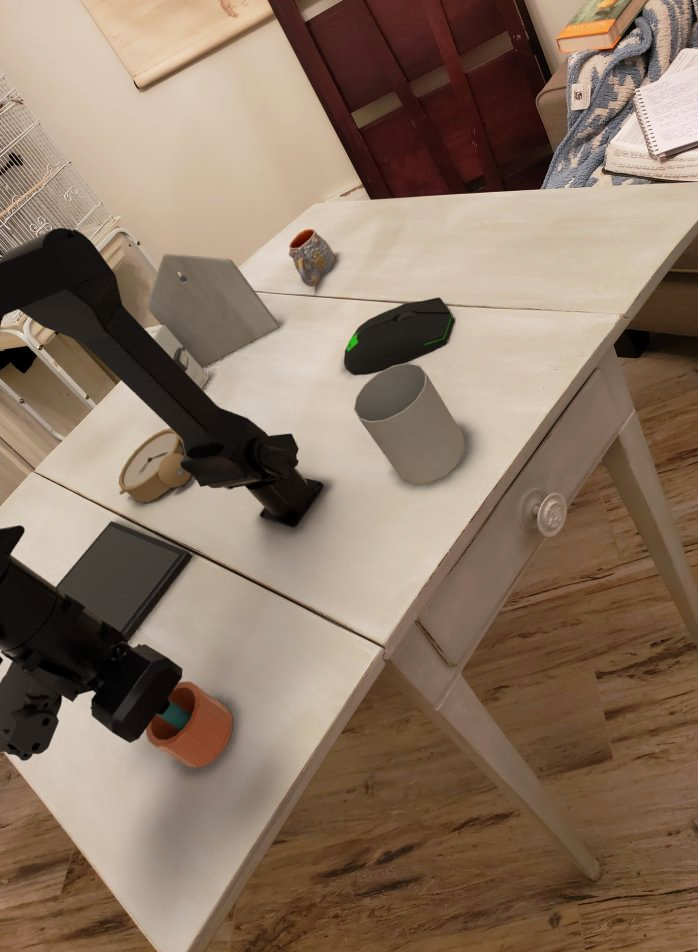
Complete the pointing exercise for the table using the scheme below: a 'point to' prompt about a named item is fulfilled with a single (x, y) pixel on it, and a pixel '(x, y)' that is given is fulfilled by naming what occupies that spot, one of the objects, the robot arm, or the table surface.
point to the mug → (311, 256)
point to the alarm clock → (154, 467)
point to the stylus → (176, 716)
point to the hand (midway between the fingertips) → (160, 705)
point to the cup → (410, 423)
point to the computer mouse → (398, 336)
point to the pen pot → (193, 727)
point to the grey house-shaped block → (208, 306)
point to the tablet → (123, 576)
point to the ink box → (178, 353)
